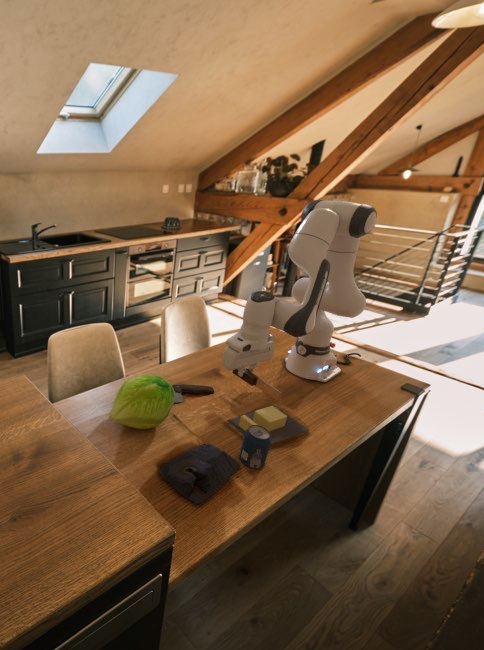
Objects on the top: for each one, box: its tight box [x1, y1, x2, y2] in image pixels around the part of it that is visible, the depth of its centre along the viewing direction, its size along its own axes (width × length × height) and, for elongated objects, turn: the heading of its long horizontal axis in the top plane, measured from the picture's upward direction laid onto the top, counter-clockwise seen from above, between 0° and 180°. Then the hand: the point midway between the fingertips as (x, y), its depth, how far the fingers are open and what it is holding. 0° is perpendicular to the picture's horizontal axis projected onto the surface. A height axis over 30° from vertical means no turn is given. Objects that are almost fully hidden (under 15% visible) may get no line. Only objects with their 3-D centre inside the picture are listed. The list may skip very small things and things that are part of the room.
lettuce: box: [108, 374, 175, 430], centre depth 124 cm, size 19×25×17 cm
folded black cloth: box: [159, 443, 241, 505], centre depth 108 cm, size 15×22×5 cm
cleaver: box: [171, 384, 215, 404], centre depth 142 cm, size 29×10×2 cm, turn 94°
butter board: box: [226, 404, 309, 446], centre depth 126 cm, size 22×14×6 cm, turn 114°
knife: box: [232, 367, 283, 403], centre depth 128 cm, size 19×2×4 cm, turn 24°
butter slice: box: [239, 414, 257, 431], centre depth 122 cm, size 2×6×4 cm, turn 25°
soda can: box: [238, 425, 272, 470], centre depth 110 cm, size 7×7×12 cm
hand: (245, 374), depth 132 cm, fingers closed on knife, 2 cm apart
